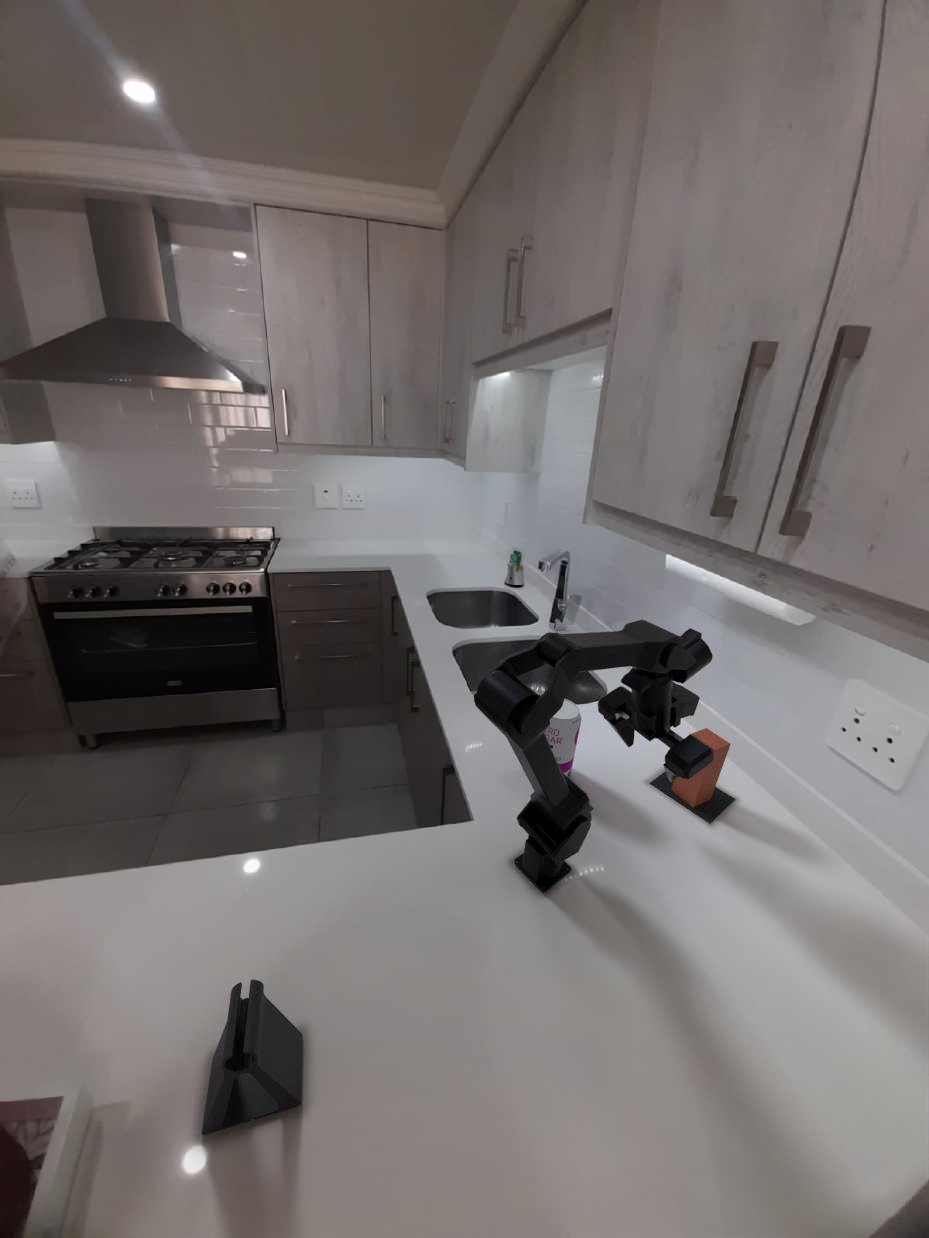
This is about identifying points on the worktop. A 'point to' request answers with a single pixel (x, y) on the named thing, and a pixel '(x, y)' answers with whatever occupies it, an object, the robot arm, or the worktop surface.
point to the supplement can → (564, 735)
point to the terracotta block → (703, 772)
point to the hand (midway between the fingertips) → (650, 762)
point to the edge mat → (704, 810)
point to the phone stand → (253, 1063)
